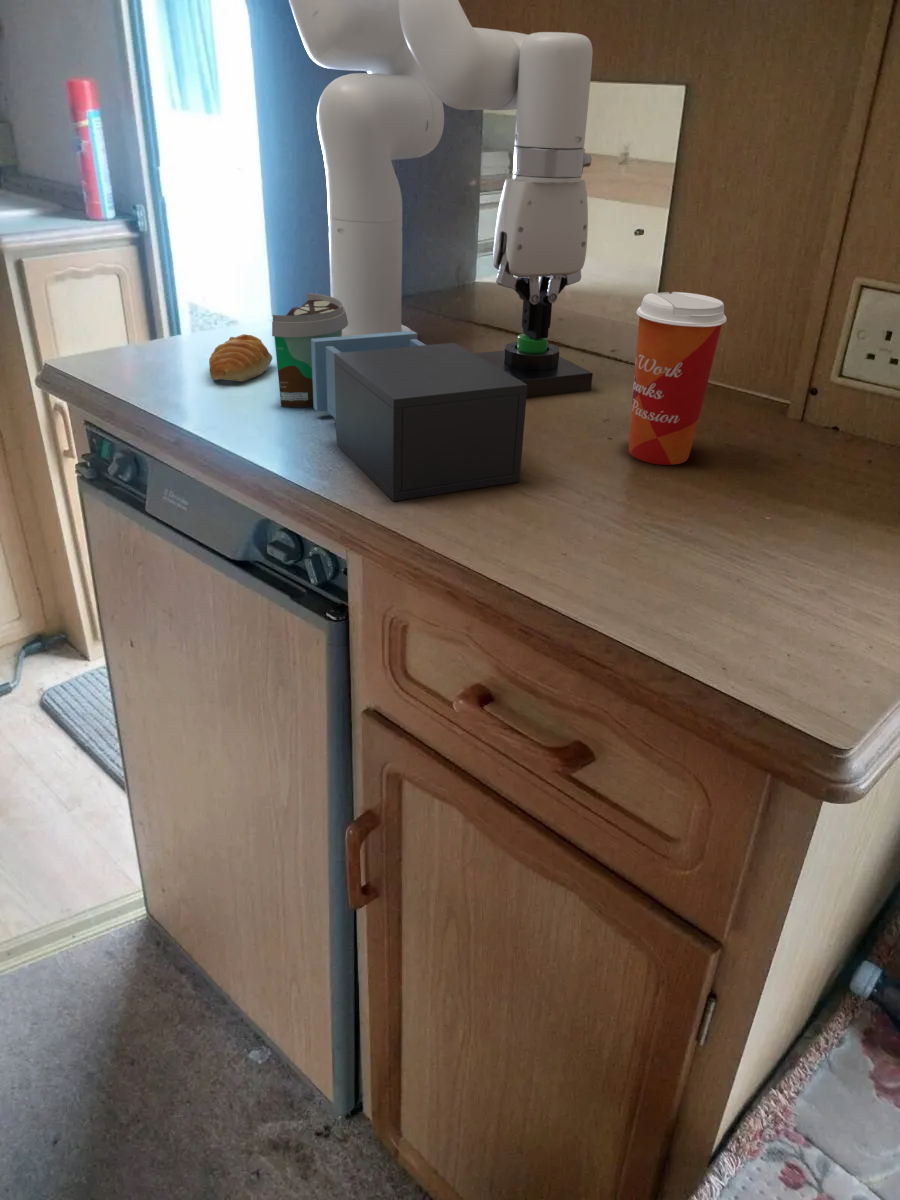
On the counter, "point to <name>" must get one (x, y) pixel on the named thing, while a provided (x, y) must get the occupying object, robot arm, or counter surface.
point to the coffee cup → (672, 373)
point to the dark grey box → (429, 419)
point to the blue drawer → (328, 346)
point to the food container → (303, 344)
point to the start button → (531, 344)
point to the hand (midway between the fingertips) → (535, 335)
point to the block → (541, 370)
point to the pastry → (239, 359)
